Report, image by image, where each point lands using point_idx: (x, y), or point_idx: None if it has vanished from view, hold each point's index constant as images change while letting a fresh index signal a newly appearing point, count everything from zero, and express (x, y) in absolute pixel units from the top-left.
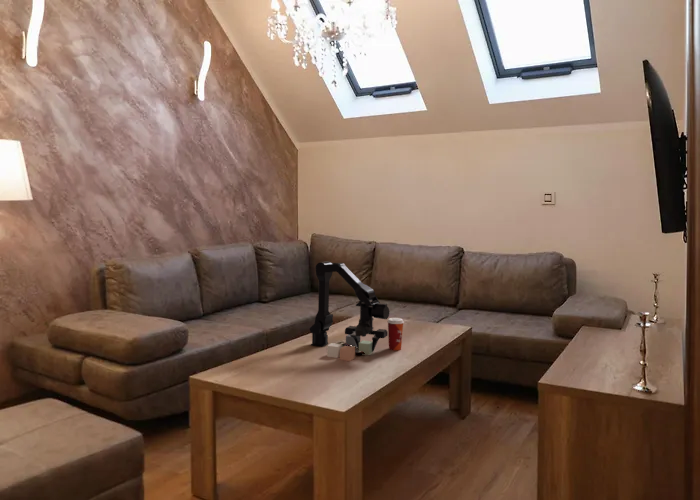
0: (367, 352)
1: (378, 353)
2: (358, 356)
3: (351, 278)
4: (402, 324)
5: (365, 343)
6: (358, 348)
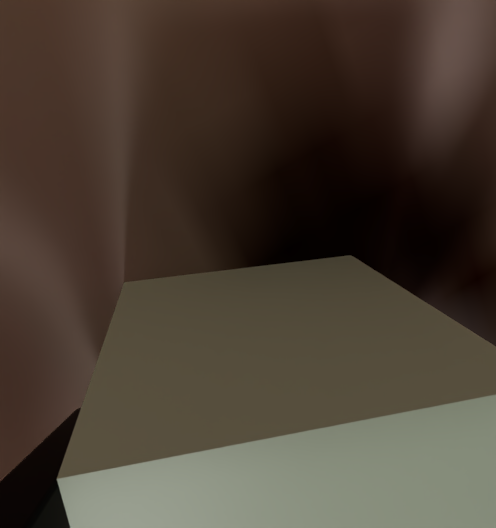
0: (161, 297)
1: (16, 465)
2: (279, 54)
3: None
4: None
5: (280, 474)
6: None
